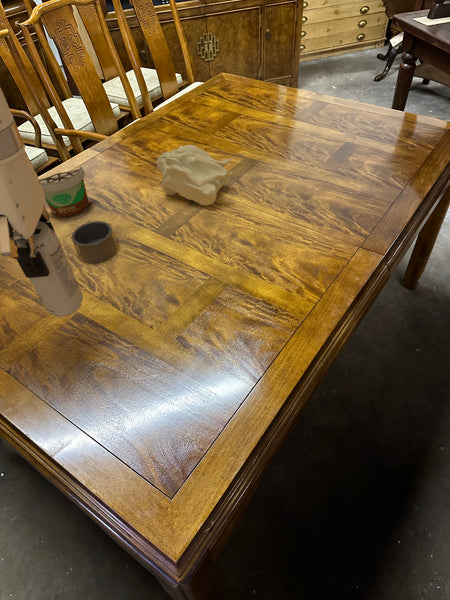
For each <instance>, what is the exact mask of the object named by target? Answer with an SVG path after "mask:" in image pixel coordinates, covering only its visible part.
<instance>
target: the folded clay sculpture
mask: <svg viewBox="0 0 450 600" xmlns="http://www.w3.org/2000/svg"><path fill="white" fill-rule="evenodd" d="M231 162H232V159H231V158H227V159H224V160H217V159H214V158H213V157H212V156H211V154H210V153H208V152H207V151H205V150H203V149H202V148H199V147H198V146H196V145H194V144H186V145H180V146H178V148H173V149H172V150H171V151H164V152H163V153H162V154H160V155H159V156H157V160H156V168H157V169H158V171H159V172H160V174H161V180H162V181H161V188H162V190H163V191H164V192H165V193H166V194H167V195H170V196H174V195H176V194H178V195H179V196H181V197H183V198H185V199H186V200H189V201H193V202H195V203H197V204H198V205H200V206H206V207H207V206H211V205H214V203H215V201H216V199H217V194H218V192H219V191H220V190H221V189H222V187H223V185H224V184H225V183H226V180H227V178H228V176H229V171H228V170H227V169H226V168H225V167H226V166H228V165H229V164H230V163H231Z"/></svg>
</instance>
